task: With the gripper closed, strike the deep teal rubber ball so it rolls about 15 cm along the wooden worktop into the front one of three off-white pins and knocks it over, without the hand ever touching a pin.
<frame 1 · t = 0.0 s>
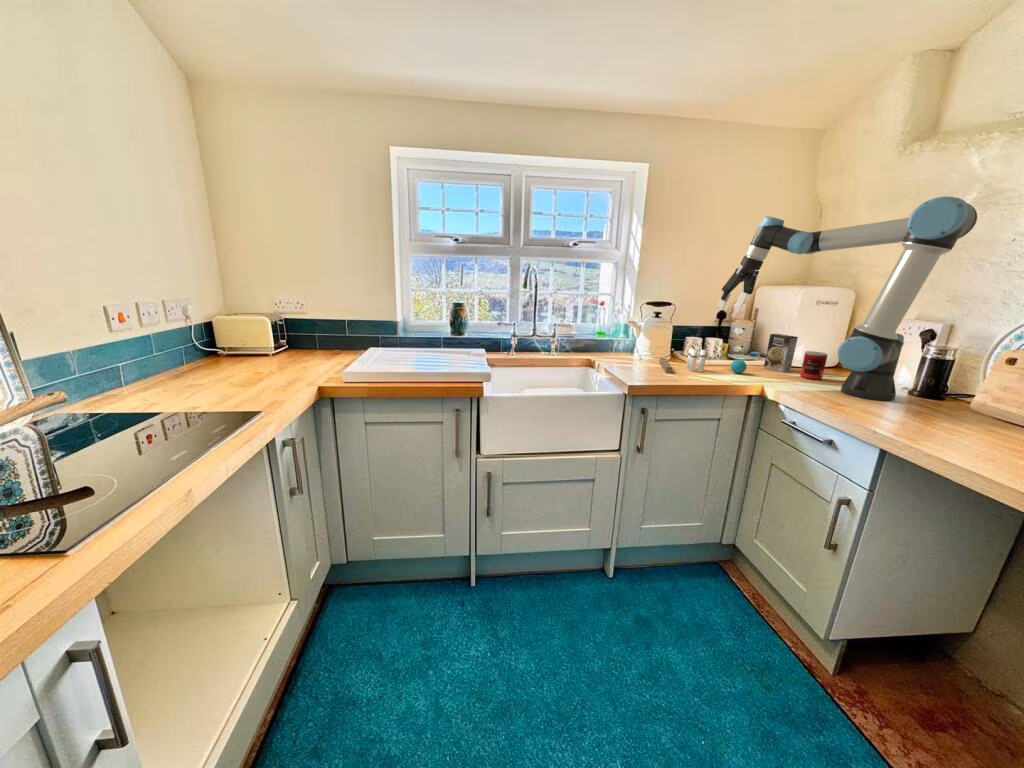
hand: (729, 307, 174), 28 cm above the counter, tool tilted 20°, fingers open, 13 cm apart
ball: (738, 366, 178), on the counter
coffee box: (776, 370, 189), on the counter
back pin far: (689, 368, 185), on the counter
front pin: (700, 370, 182), on the counter
canned food: (810, 378, 174), on the counter
back pin near: (691, 370, 180), on the counter
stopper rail: (665, 367, 185), on the counter
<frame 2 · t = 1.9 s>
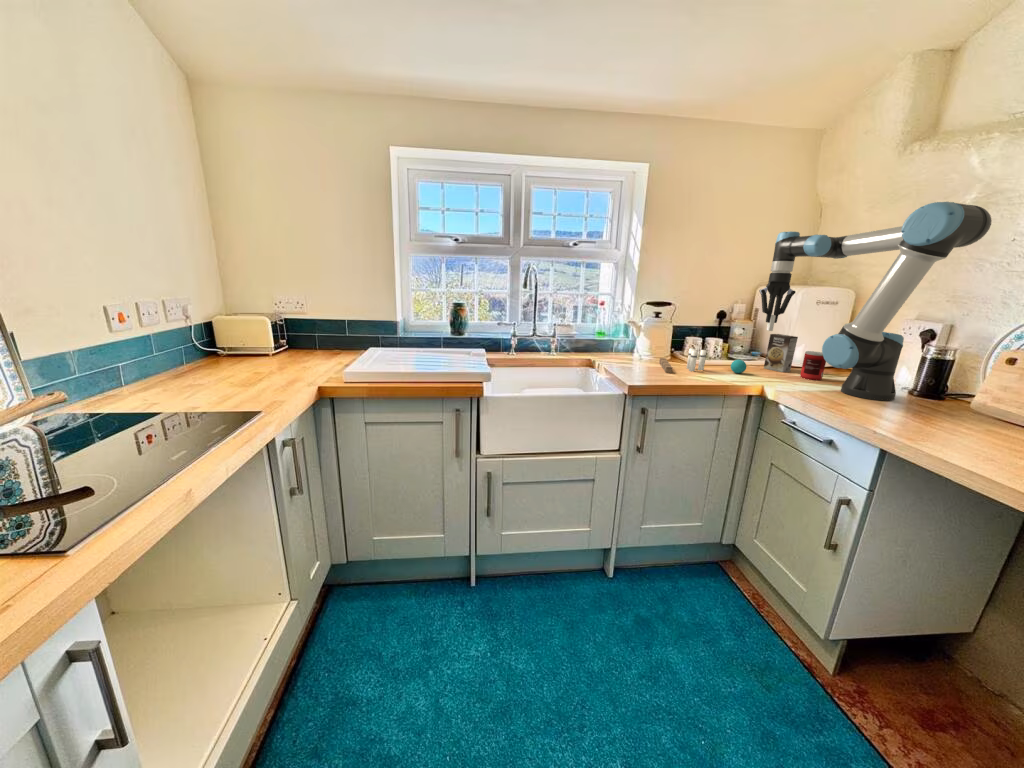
hand: (769, 330, 172), 19 cm above the counter, tool pointing down, fingers closed
nothing on the counter moved.
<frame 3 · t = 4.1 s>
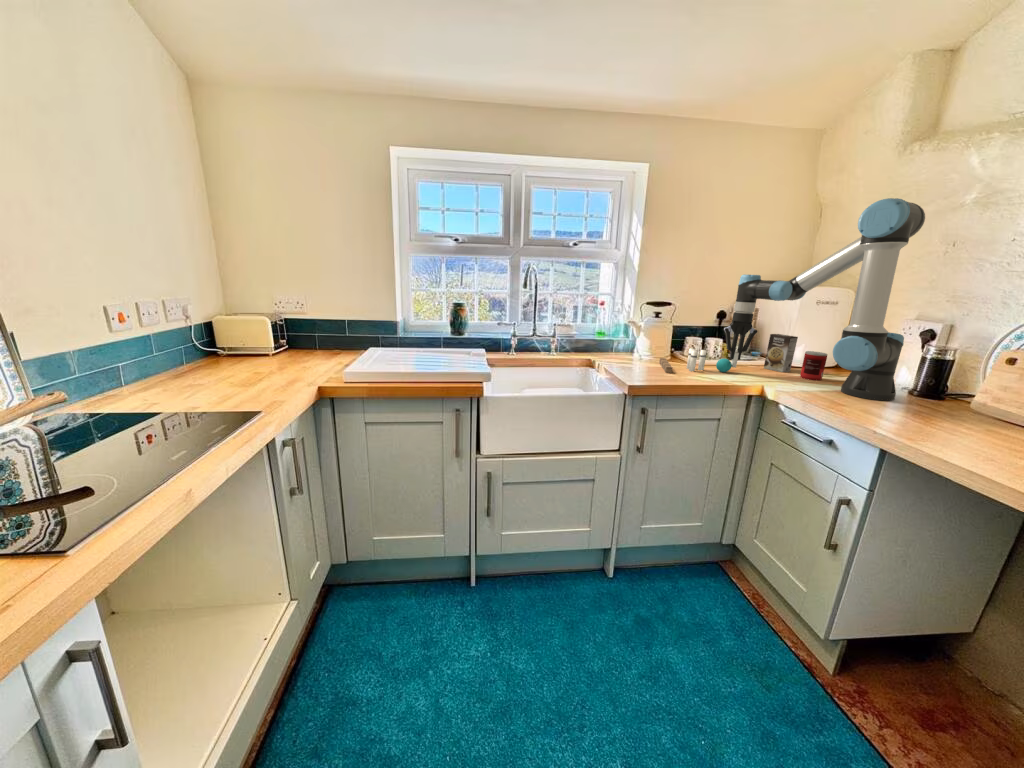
hand: (733, 366, 179), 3 cm above the counter, tool pointing down, fingers closed
ball: (723, 365, 179), on the counter
everything else where it was.
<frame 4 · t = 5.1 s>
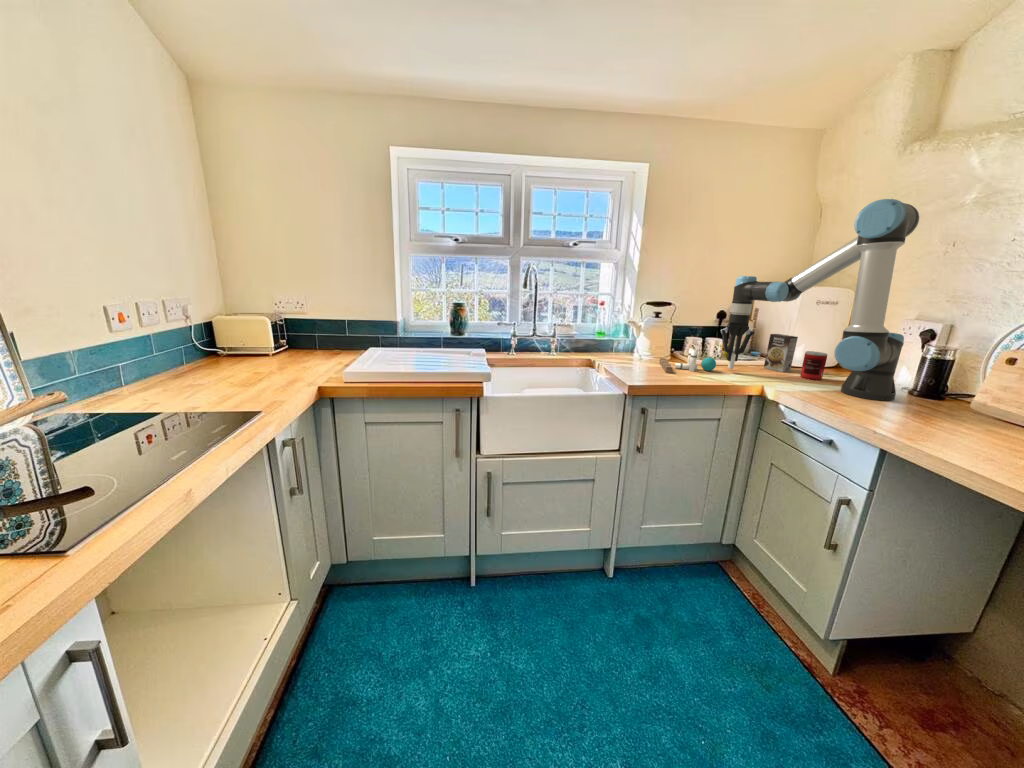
hand: (730, 368, 179), 2 cm above the counter, tool pointing down, fingers closed
ball: (708, 364, 181), on the counter
front pin: (696, 367, 182), point 1 cm above the counter, tilted 90°
everything else where it was.
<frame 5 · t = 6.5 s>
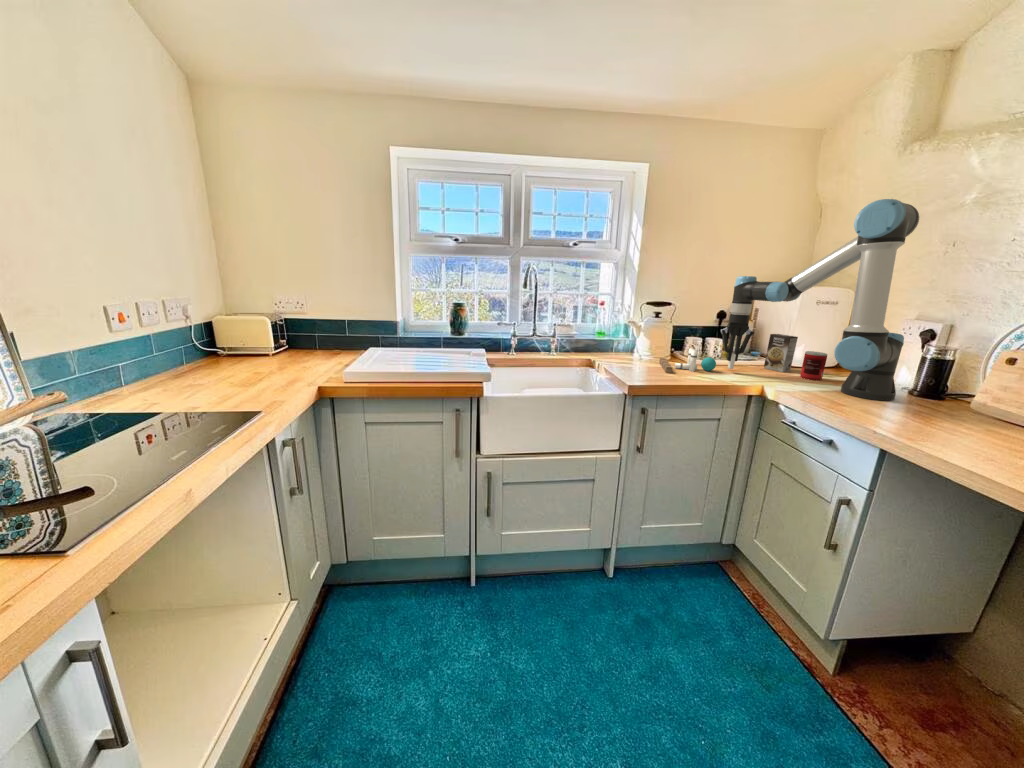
hand: (730, 368, 179), 2 cm above the counter, tool pointing down, fingers closed
nothing on the counter moved.
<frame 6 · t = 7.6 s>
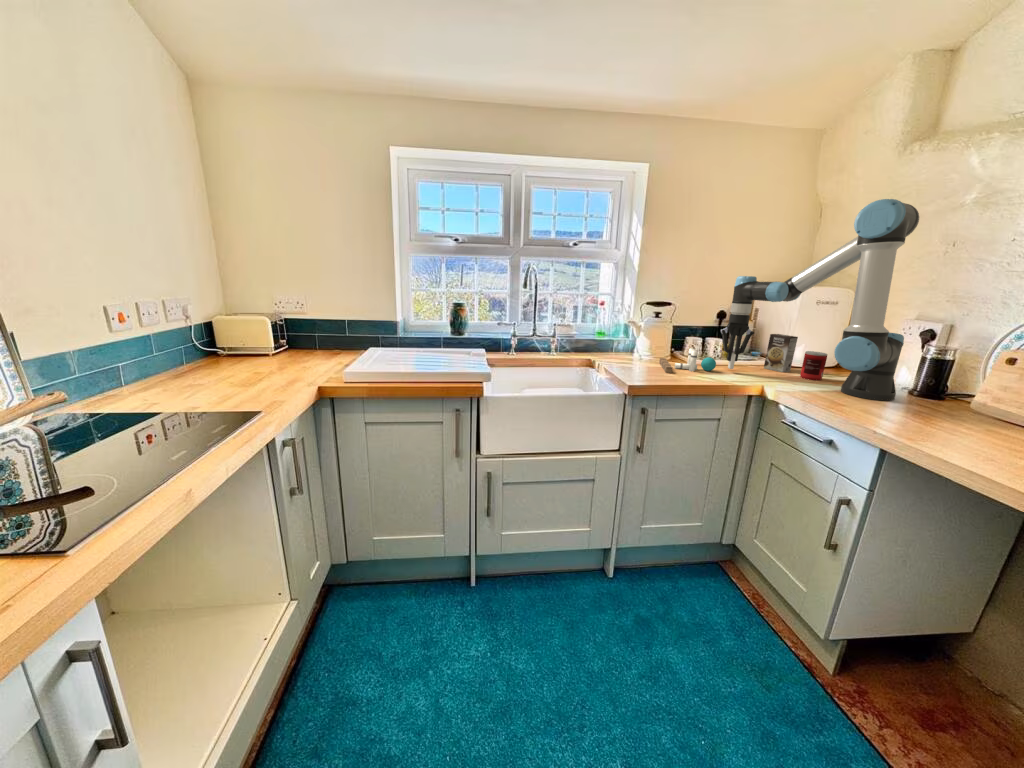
hand: (730, 368, 179), 2 cm above the counter, tool pointing down, fingers closed
nothing on the counter moved.
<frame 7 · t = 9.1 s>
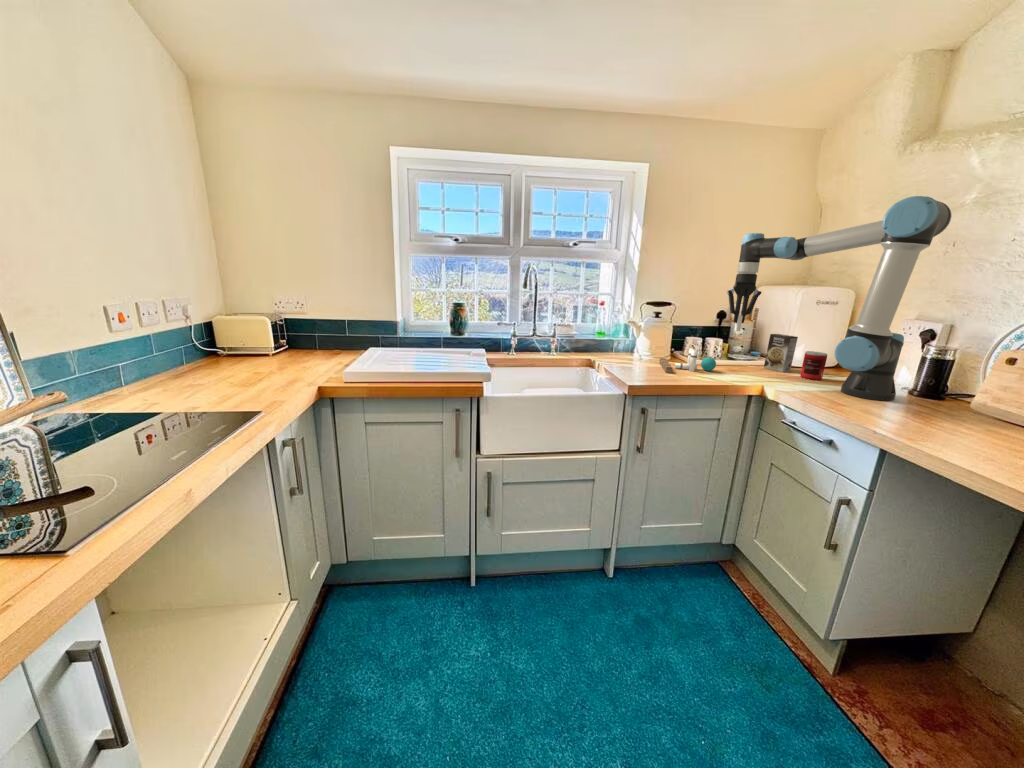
hand: (737, 330, 175), 18 cm above the counter, tool pointing down, fingers closed
nothing on the counter moved.
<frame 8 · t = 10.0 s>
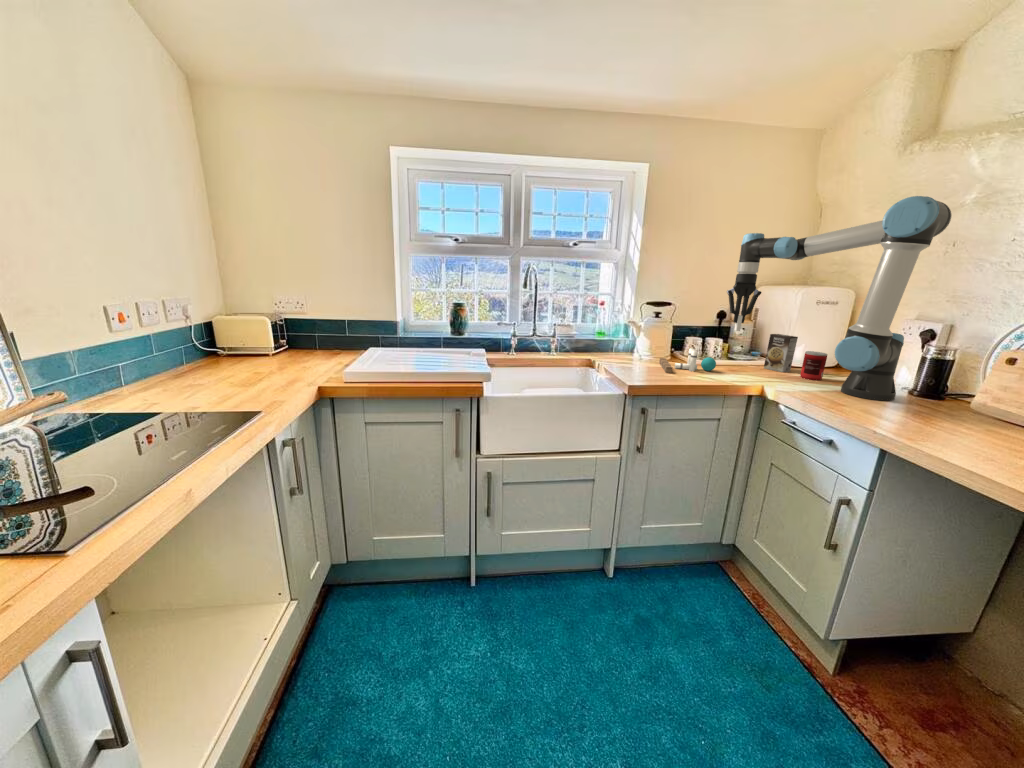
hand: (737, 330, 175), 18 cm above the counter, tool pointing down, fingers closed
nothing on the counter moved.
at the end: front pin tilted 90°; front pin never touched the robot; ball moved 12.1 cm from its start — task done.
